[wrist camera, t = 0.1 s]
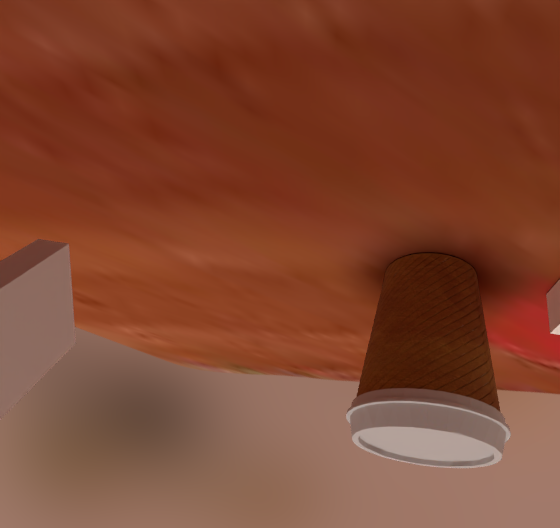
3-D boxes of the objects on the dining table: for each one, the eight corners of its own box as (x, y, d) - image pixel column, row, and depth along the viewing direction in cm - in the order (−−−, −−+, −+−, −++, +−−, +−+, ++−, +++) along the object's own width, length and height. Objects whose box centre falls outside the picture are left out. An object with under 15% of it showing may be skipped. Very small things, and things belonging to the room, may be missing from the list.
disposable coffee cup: (534, 268, 34) (551, 457, 28) (447, 320, 42) (445, 476, 36) (406, 220, 32) (393, 411, 26) (340, 283, 40) (319, 441, 34)
